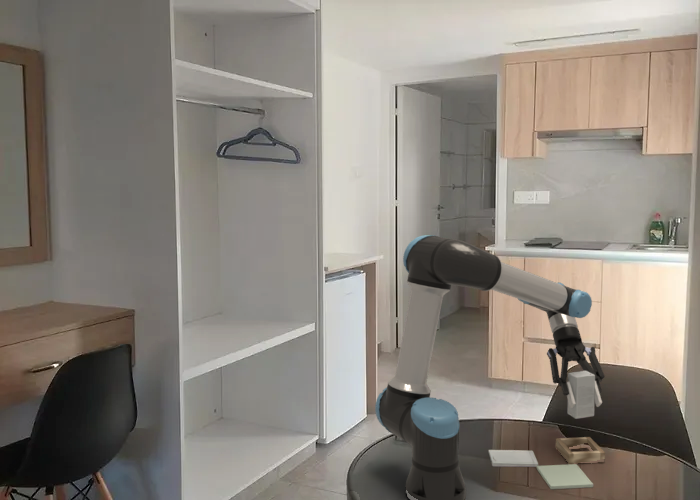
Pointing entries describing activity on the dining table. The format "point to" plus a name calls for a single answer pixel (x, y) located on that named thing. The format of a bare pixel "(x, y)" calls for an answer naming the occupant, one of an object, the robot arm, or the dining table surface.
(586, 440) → the cradle
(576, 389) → the skincare box
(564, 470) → the pad
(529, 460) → the hard drive
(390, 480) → the dining table surface
